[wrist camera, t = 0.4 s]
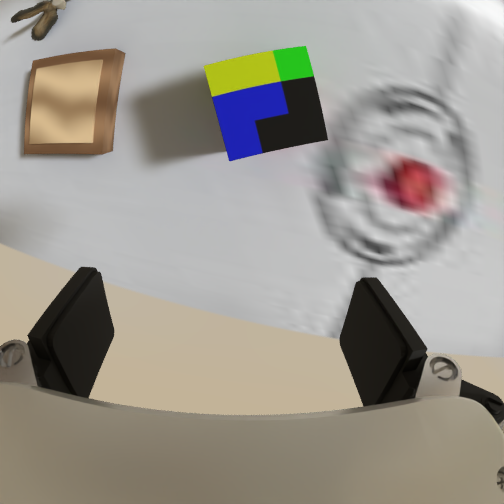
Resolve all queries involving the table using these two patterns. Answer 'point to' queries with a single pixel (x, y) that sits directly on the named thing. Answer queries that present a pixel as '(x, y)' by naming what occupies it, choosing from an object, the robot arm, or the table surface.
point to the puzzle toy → (266, 102)
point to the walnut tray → (73, 103)
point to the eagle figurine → (45, 21)
